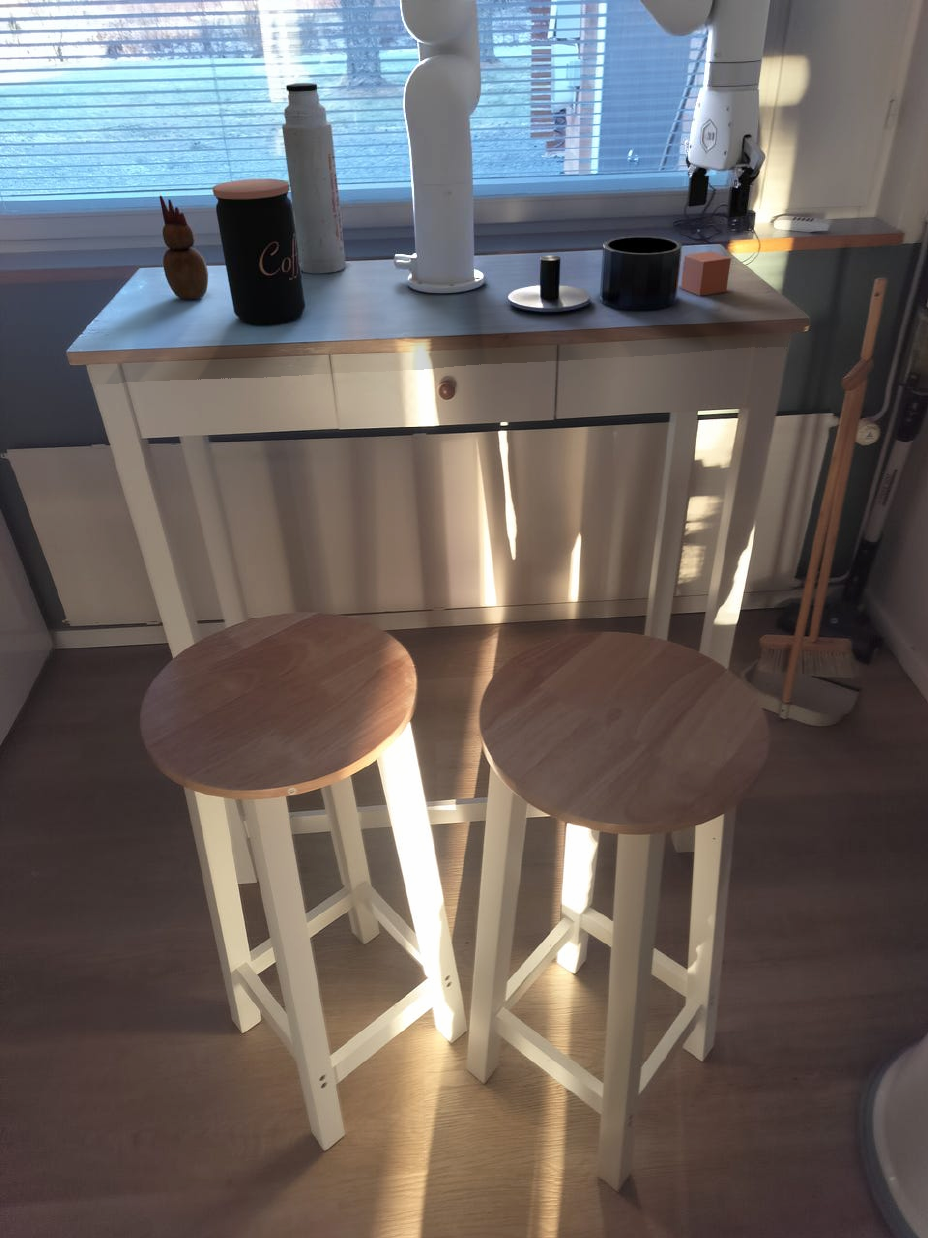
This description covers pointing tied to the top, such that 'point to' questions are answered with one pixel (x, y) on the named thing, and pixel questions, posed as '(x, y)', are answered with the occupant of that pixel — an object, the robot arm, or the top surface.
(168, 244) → the wooden figurine
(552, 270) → the lid
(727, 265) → the block
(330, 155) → the thermos bottle
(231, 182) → the coffee jar
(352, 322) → the top surface
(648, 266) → the pot
